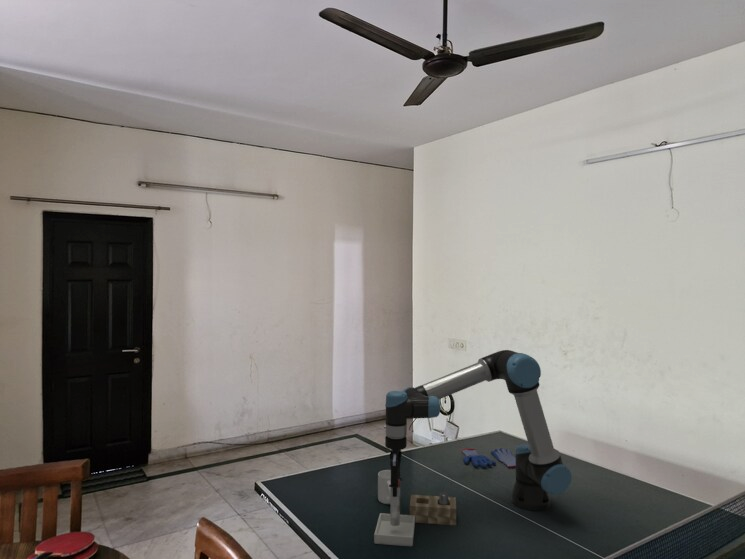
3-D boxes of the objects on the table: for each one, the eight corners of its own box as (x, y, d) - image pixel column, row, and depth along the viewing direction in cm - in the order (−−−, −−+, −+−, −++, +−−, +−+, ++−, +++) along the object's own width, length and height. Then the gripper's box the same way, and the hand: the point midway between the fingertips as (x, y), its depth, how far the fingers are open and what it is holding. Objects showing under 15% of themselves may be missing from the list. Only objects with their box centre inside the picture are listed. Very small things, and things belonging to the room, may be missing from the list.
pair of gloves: (514, 451, 263) (514, 445, 263) (533, 469, 237) (533, 462, 237) (455, 453, 260) (455, 446, 261) (468, 471, 235) (468, 463, 235)
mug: (378, 508, 194) (378, 481, 194) (377, 495, 206) (377, 469, 206) (400, 508, 194) (400, 481, 194) (397, 495, 206) (398, 469, 206)
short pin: (448, 516, 187) (448, 492, 188) (448, 520, 184) (448, 496, 184) (439, 515, 188) (439, 492, 188) (439, 520, 185) (439, 495, 185)
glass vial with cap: (400, 521, 176) (400, 478, 176) (399, 526, 173) (399, 481, 173) (390, 521, 176) (391, 477, 177) (389, 525, 173) (390, 481, 173)
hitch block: (455, 513, 190) (455, 497, 190) (456, 525, 180) (456, 508, 180) (411, 510, 193) (411, 494, 193) (409, 522, 183) (409, 505, 183)
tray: (414, 523, 181) (415, 515, 182) (412, 546, 166) (412, 537, 166) (379, 521, 183) (379, 513, 183) (374, 543, 167) (374, 534, 167)
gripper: (387, 428, 184) (387, 492, 183) (382, 442, 167) (382, 512, 167) (408, 429, 183) (407, 493, 182) (404, 443, 166) (404, 513, 166)
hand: (395, 502), depth 175 cm, fingers closed on glass vial with cap, 3 cm apart
